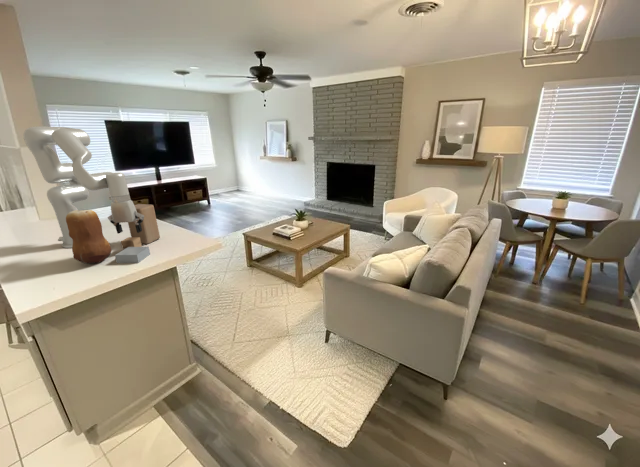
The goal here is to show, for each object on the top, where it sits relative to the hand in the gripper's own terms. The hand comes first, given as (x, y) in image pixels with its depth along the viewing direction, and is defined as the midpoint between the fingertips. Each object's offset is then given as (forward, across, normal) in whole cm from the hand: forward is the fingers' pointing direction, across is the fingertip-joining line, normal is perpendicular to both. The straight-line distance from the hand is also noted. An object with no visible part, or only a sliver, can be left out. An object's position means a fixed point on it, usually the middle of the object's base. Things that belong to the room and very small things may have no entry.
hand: (129, 232), depth 144 cm
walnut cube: (+10, -1, 0) cm, 10 cm away
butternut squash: (+10, -10, -14) cm, 20 cm away
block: (+10, -1, +13) cm, 17 cm away
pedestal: (+10, +6, -11) cm, 16 cm away
